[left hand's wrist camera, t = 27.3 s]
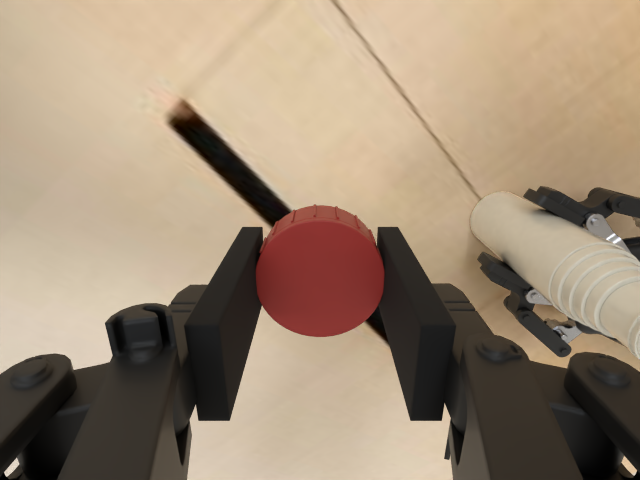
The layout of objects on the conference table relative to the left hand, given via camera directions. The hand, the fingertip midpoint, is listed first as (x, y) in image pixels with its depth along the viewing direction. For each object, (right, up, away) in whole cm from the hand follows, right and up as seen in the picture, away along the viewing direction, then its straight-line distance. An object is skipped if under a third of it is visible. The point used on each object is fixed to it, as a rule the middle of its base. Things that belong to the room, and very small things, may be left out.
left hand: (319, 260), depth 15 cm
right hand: (+14, +2, +13) cm, 19 cm away
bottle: (+16, +3, +19) cm, 25 cm away
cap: (0, -1, -1) cm, 2 cm away
